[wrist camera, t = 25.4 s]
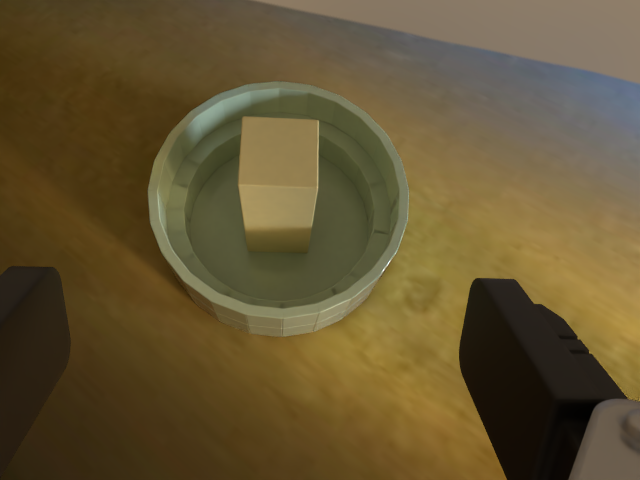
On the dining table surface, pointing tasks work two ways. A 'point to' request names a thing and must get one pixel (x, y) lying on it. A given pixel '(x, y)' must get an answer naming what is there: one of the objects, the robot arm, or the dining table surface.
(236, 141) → the bowl
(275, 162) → the butter stick
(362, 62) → the dining table surface
